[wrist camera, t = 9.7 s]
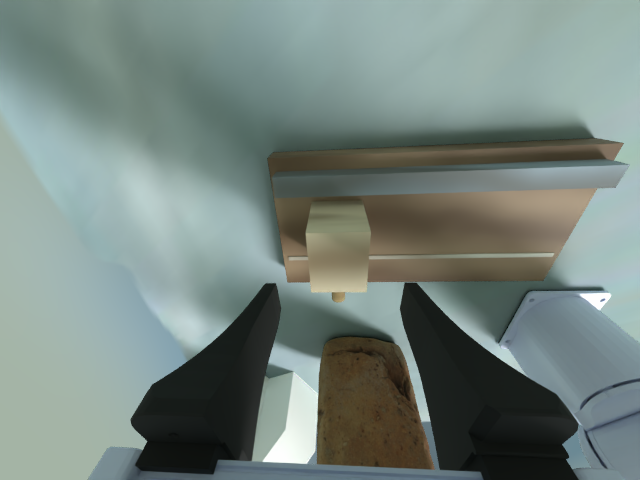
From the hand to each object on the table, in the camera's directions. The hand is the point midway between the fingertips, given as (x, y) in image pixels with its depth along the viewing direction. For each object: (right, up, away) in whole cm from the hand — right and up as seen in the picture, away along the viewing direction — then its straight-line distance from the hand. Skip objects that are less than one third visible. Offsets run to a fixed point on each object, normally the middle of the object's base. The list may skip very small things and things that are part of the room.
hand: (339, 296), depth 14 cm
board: (+7, +5, +8) cm, 12 cm away
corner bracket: (-9, -20, +25) cm, 34 cm away
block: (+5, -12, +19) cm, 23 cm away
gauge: (0, +2, +8) cm, 8 cm away
